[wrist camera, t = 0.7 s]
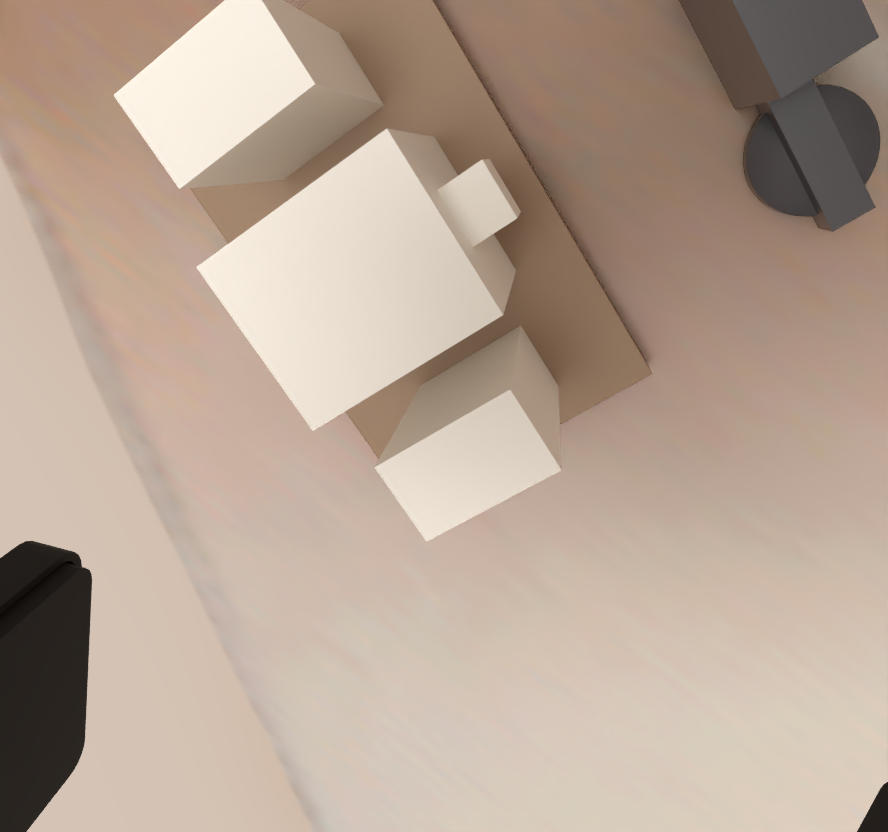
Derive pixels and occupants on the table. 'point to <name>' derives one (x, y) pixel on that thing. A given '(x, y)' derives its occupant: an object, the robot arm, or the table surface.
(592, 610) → the table surface
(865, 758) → the table surface
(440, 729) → the table surface
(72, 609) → the robot arm
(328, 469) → the table surface
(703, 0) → the grey bar with discs
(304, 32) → the boxes on tan tray
